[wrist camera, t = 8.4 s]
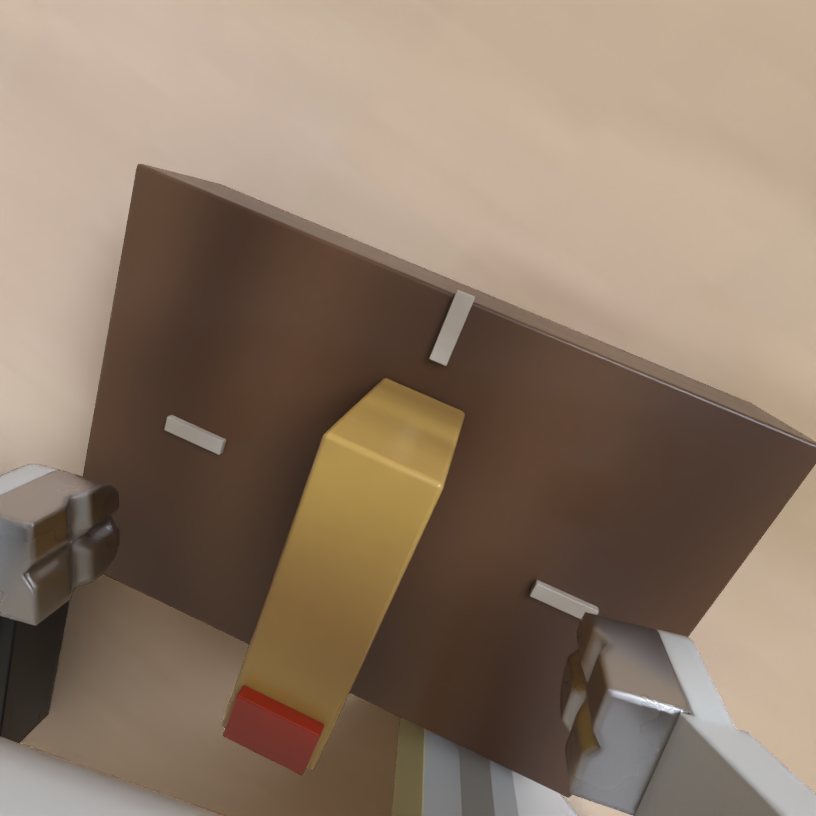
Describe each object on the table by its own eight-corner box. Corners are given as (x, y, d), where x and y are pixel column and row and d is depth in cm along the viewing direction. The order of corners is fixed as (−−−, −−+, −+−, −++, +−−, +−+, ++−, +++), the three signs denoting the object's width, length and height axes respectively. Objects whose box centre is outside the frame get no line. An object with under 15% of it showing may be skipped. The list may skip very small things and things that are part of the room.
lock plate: (144, 508, 16) (61, 564, 13) (219, 179, 13) (131, 154, 10) (556, 701, 15) (568, 809, 12) (756, 400, 12) (838, 447, 9)
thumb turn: (383, 375, 10) (316, 437, 7) (466, 411, 10) (442, 493, 7) (298, 600, 12) (210, 740, 9) (366, 633, 12) (306, 788, 8)
